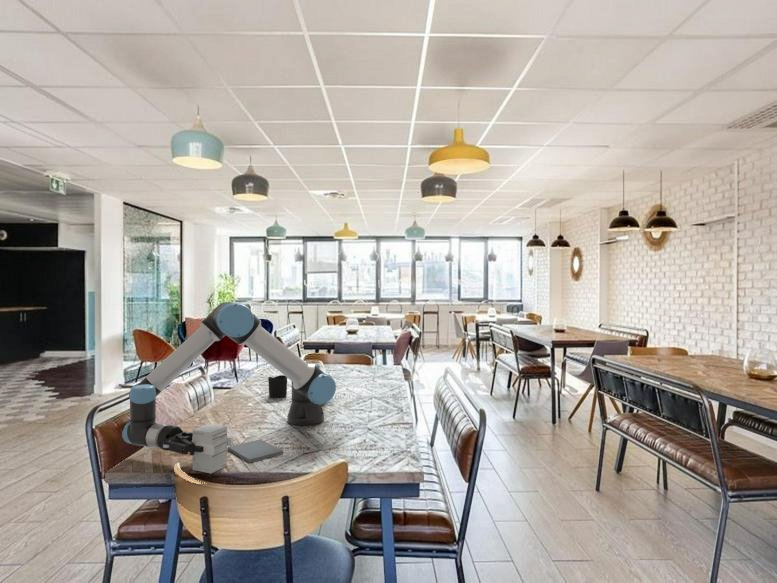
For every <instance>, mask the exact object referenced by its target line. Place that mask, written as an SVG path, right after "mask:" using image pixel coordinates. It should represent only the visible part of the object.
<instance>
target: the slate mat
mask: <svg viewBox="0 0 777 583" xmlns="http://www.w3.org/2000/svg"><path fill="white" fill-rule="evenodd" d="M227 451H229V452H231V453H232V452H233V454H234V455H236V456H237V455H238V456H237V457H239V458H241V459H243V460H245V461H246V462H248V463H253V461H254V462H257V460H258V461H260V460H264V458H265V459H268V457H269V458H272V457H275V455H276V456H279V455H283V454H284V450H283V449H281V448H279V447H277V446H275V445H273V444H271V443H270V442H267V441H264V440H263V439H260V438H259V439H255V440H251V441H246V442H243V443H239V444H234V445H233V446H227ZM282 453H283V454H282ZM278 454H279V455H278Z"/></svg>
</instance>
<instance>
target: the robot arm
mask: <svg viewBox="0 0 777 583" xmlns="http://www.w3.org/2000/svg"><path fill="white" fill-rule="evenodd" d="M225 336H226V337H228V338H229V339H230V340H232V341H233V342H234V343H236V344H237V345H239V346H243V345H245V346H247V347H248V348H249V349H250V350H252V352H254V353H255V354H257V355H258V356H259V357H260V358H262V359H263V360H264V361H266V362H267V363H268V364H269V365H271V366H272V367H273V368H274V369H276V370H277V371H279V373H281V375H284V376H286V377H287V380H288V379H289V381H291V403H290V406H289V410H288V413H287V418H286V419H287V423H288V424H290V425H295V426H309V425H311V424H312V425H316V423H317V424H320V423H323V421H324V420H325V412H324V410H323V408H322V405H326V404H327V403H329V402H330V401H332V399H333V398H334V396H335V394H336V390H337V386H336V385H337V384H336V381H335V379H334V378H333V377H332V376H331V374H326V373H325V372H324V371H323V370H321V368H320V367H321V366H320V365H319V364H315V363H306V362H305V360H303V359H302V358H300V356H298V355H297V354H295V353H294V352H293V351H292V350H291V349H289V347H287V346H286V345H285V344H283V343H282V342H281V341H280V340H279V339H278V338H276V337H275V336H274V335H273V334H272V333H270V332H269V330H268V331H267V330H266V329H265V328H264V327H263V326H262V320H261V319H259V318H258V316H256V315H255V314H254V313H253V312H252V310H251V309H250V308H249V307H248V306H246V305H245V304H243V303H240V302H233V301H232V302H231V301H227V302H226V301H225V302H222V303H220V304H219V305H216V307H214V309H213V310H212V311H211V312H210V313H209V314H208V315H207V316H206V317H205V318H204V319H203V320H202V321H201V322H200V325H199V327H198V328H197V329H196V330H195V331H194V332H193V333H192V334H191V335H190V336H189V337H188V338H187V339H185V341H183V342H182V343H181V344H180V345H179V346H177V348H176V349H174V351H172V352H171V353H170V354H169V355H168V356H167V357H166V358H165V359H164V360H163V361H161V362H160V364H158V365H157V366H156V367H155V368H154V369H153V370H152V371H151V372H149V374H148V375H146V376H145V377H144V378H142V380H141V381H140V382H138V383H136V384H135V385H133V386H132V387H131V388H130V390H129V392H128V397H129V398H128V399H129V416H130V417H129V422H127V423H126V424H125V426H124V427H123V429H122V432H121V434H122V439H123V441H124V442H125V443H126V444H129V445H130V444H131V445H133V446H139V447H146V448H153V449H157V450H163V451H168V452H169V451H170V452H174V453H176V454H181V455H188V454H189V455H190V456H193V455H194V452H196V453H202V454H208V455H214V445H210V444H203V443H195V445H194V443H193V431H190V432H189V431H183V429H182V427H180V426H177V425H172V424H171V425H169V424H166V423H165V424H163V423H157V420H156V418H157V416H156V411H157V407H156V406H157V405H156V404H157V402H156V401H157V397H158V396H159V395H160V394H161V393H162V392H163V390H165V389H166V388H167V387H168V386H169V385H170V384H171V383H172V382H173V381H174V380H176V378H178V377H179V376H180V375H181V374H182V373H183V372H184V371H185V370H186V369H188V367H189V366H191V365H192V363H193V362H195V361H196V360H197V359H198V358H199V357H200V356H201V355H202V354H203V353H204V352H205V351H206V350H207V349H208V348H209V347H211V346H212V345H213V344H214V343H215V342H219V341H221V340H222V339H223V338H225ZM312 425H311V426H312ZM233 440H234V439H233V436H228V435H227V447H230V446H234V445H233V442H234V441H233Z"/></svg>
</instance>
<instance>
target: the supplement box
mask: <svg viewBox="0 0 777 583" xmlns="http://www.w3.org/2000/svg"><path fill="white" fill-rule="evenodd" d="M192 432H193V437H192V441H193V443H194V445H195V443H203V444H210V445H214V455H208V454H202V453H196V452H194V455H192V471H196V472H197V471H198V472H202V473H206V474H210V475H212V474H213V473H215V472H217V471H219V470H221V469H223V468H225V467H227V466H228V446H227V436H228V426H227V425H221V424H215V423H206V424H203V425H202V426H198V427H196V428H194V429H192Z"/></svg>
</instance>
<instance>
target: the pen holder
mask: <svg viewBox="0 0 777 583" xmlns="http://www.w3.org/2000/svg"><path fill="white" fill-rule="evenodd" d="M267 379H268V381H267V382H268V397H269V398H271V399H283V398H286V397H287V394H288V392H287V391H288V378H287V377H286V376H285V375H283V374H281V375H277V376H274V377H272V376H268V378H267Z"/></svg>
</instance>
